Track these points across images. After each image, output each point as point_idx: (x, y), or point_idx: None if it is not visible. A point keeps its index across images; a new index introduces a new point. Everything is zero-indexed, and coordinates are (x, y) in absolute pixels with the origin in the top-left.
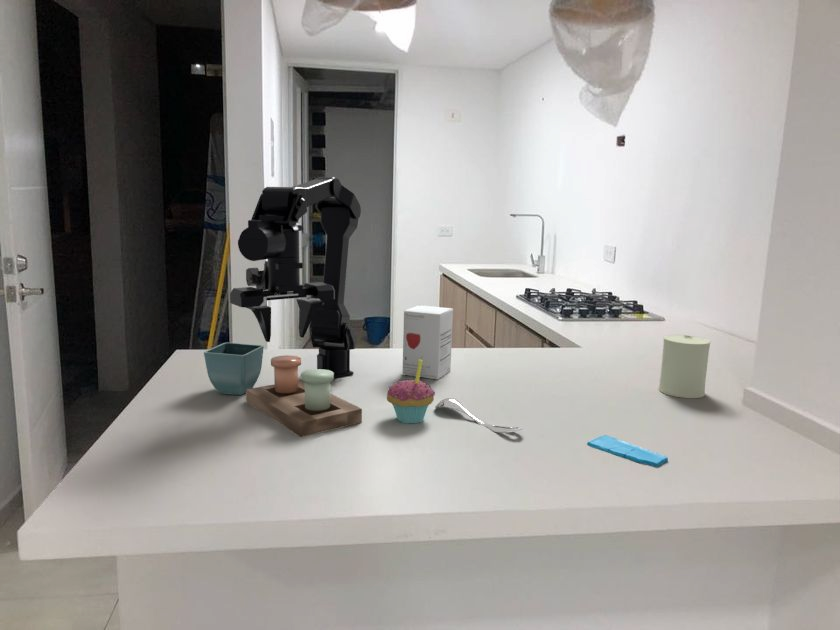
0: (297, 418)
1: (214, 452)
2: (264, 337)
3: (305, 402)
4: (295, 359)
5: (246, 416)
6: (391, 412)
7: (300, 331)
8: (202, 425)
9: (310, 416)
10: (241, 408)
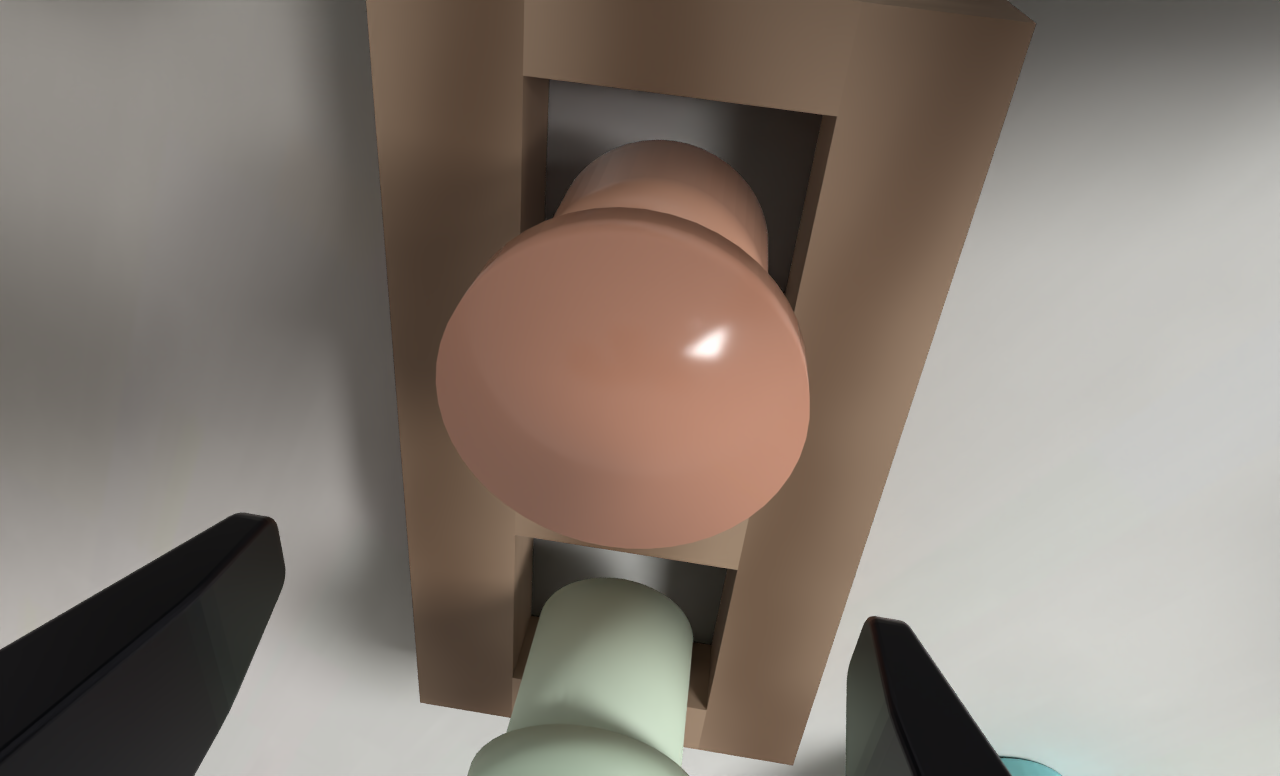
0: (433, 664)
1: (53, 535)
2: (188, 550)
3: (533, 640)
4: (697, 488)
5: (305, 244)
6: (1026, 709)
7: (863, 731)
8: (10, 201)
9: (504, 683)
10: (322, 62)
